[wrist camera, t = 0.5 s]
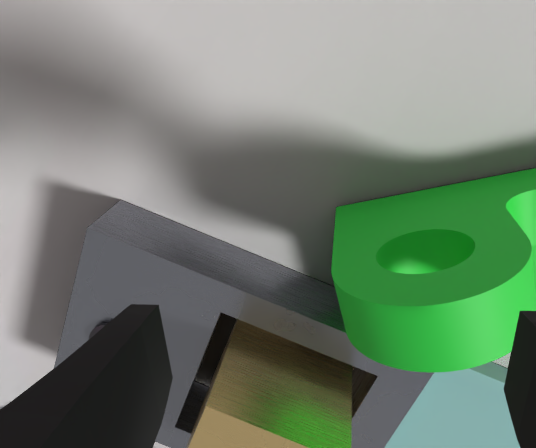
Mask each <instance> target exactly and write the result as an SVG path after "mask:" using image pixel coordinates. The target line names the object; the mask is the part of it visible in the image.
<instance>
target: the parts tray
mask: <svg viewBox="0 0 536 448" xmlns="http://www.w3.org/2000/svg"><path fill="white" fill-rule="evenodd" d="M507 370H508V369H507V368H505V367H502V366H500V365H497V364H495V363H492V362H489V363H486V364H483V365H480V366H477V367H473V368H469V369H464V370H458V371H452V372H434V374H433V375H432V377H431V378H430V380H429V381H428V383H427V384H426V386H425V387H424V389H423V390H422V392H421V393H420V395H419V396H418V398H417V399H416V401H415V402H414V404H413V405H412V407H411V408H410V410H409V411H408V413H407V414H406V416H405V417H404V419H403V420H402V422H401V423H400V425H399V426H398V428H397V429H396V431H395V432H394V434H393V435H392V437H391V438H390V440H389V441H388V443H387V444H386V446H385V447H384V448H520V445H519V443H518V440H517V437H516V434H515V430H514V427H513V423H512V420H511V416H510V412H509V409H508V405H507V401H506V397H505V393H504V385H505V380H506V375H507Z"/></svg>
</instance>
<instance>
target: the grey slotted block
mask: <svg viewBox="0 0 536 448" xmlns="http://www.w3.org/2000/svg"><path fill="white" fill-rule="evenodd" d="M131 304H147V305H159V309H160V314H161V319H162V324H163V330H164V335H165V340H166V345H167V350H168V355H169V361H170V366H171V371H172V376H173V379H172V384H171V388H170V392H169V397H168V401H167V405H166V409H165V413H164V416H163V420H162V424H161V426H160V429H159V432H158V435H157V437H156V440H155V441H156V442H158V443H160V444H163V445H165V446H168V447H170V448H186V446H187V443H188V441H189V438H190V435H191V433H192V430H193V428H194V425H195V422H196V420H197V417H198V414H199V412H200V409H201V407H202V404H203V401H204V399H205V396H206V393H207V391H208V388H209V387H207V386H205V385H202V384H200V383H197V382H195V378H196V376H197V373H198V371H199V368H200V366H201V363H202V361H203V358H204V356H205V353H206V351H207V348H208V346H209V343H210V341H211V338H212V336H213V333H214V331H215V328H216V326H217V323H218V321H219V318H220V316H221V313H224V314H226V315H229V316H231V317H234V318H236V319H239V320H241V321H244V322H246V323H249V324H251V325H253V326H256V327H258V328H261V329H263V330H266V331H268V332H271V333H273V334H276V335H278V336H281V337H283V338H285V339H288V340H290V341H293V342H295V343H298V344H300V345H303V346H305V347H308V348H310V349H312V350H315V351H317V352H320V353H322V354H325V355H327V356H330V357H332V358H335V359H337V360H339V361H342V362H344V363H347V364H349V365H352V366H354V369H353V371H352V430H351V448H384V447H385V446H386V444H387V443H388V441H389V440H390V438H391V437H392V435H393V434H394V432H395V431H396V429H397V428H398V426H399V425H400V423H401V422H402V420H403V419H404V417H405V416H406V414H407V413H408V411H409V410H410V408H411V407H412V405H413V404H414V402H415V401H416V399H417V398H418V396H419V395H420V393H421V392H422V390H423V389H424V387H425V386H426V384H427V383H428V381H429V380H430V378H431V377H432V375H433V374H434V372H414V371H407V370H401V369H397V368H393V367H389V366H386V365H383V364H381V363H378V362H376V361H374V360H372V359H370V358H368V357H366V356H365V355H363V354H362V353H361V352H359V351H358V350H357V349H356V348H355V347H354V346H353V345H352V343H351V342H350V340H349V338H348V336H347V334H346V330H345V326H344V322H343V318H342V314H341V310H340V306H339V302H338V298H337V294H336V290H335V287H333V286H331V285H328V284H326V283H324V282H321V281H319V280H316V279H314V278H311V277H309V276H306V275H304V274H301V273H299V272H297V271H294V270H292V269H289V268H287V267H284V266H282V265H279V264H277V263H275V262H272V261H270V260H267V259H265V258H262V257H260V256H257V255H255V254H252V253H250V252H248V251H245V250H243V249H240V248H238V247H235V246H233V245H230V244H228V243H225V242H223V241H221V240H218V239H216V238H213V237H211V236H208V235H206V234H203V233H201V232H199V231H196V230H194V229H191V228H189V227H186V226H184V225H181V224H179V223H176V222H174V221H172V220H169V219H167V218H164V217H162V216H159V215H157V214H154V213H152V212H149V211H147V210H145V209H142V208H140V207H137V206H135V205H132V204H130V203H127V202H125V201H123V200H120V201H119V202H118V203H116V204H115V205H114V206H113V207H112V208H110V209H109V210H108V211H107V212H106V213H104V214H103V215H102V216H101V217H100V218H98V219H97V220H96V221H95V222H94V223H92V224H91V225H90V226H89V227H88V228H87V231H86V235H85V240H84V244H83V248H82V252H81V256H80V261H79V265H78V269H77V273H76V277H75V282H74V286H73V290H72V294H71V299H70V303H69V307H68V311H67V315H66V320H65V324H64V328H63V332H62V337H61V341H60V345H59V349H58V353H57V358H56V362H55V366H54V368H56V367H57V366H58V365H59V364H60V363H62V362H63V361H64V360H65V359H66V358H68V357H69V356H70V355H71V354H72V353H74V352H75V351H76V350H77V349H78V348H80V347H81V346H82V345H83V344H84V343H86V342H87V341H88V340H89V339H90V338H91V337H93V336H94V335H95V334H96V333H97V332H98V331H100V330H101V329H102V328H103V327H104V326H105V325H106V324H108V323H109V322H110V321H111V320H112V319H113V318H115V317H116V316H117V315H118V314H119V313H121V312H122V311H123V310H124V309H126V308H127V307H128V306H129V305H131Z"/></svg>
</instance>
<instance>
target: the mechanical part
mask: <svg viewBox="0 0 536 448" xmlns="http://www.w3.org/2000/svg"><path fill="white" fill-rule="evenodd" d="M331 274H332V278H333V282H334V286H335V290H336V294H337V298H338V302H339V306H340V310H341V314H342V318H343V322H344V326H345V330H346V334H347V336H348V338H349V340H350V342H351V343H352V345H353V346H354V347H355V348H356V349H357V350H358V351H359V352H361V353H362V354H363V355H365V356H366V357H368V358H370V359H372V360H374V361H376V362H378V363H381V364H383V365H386V366H389V367H393V368H397V369H401V370H407V371H414V372H452V371H458V370H464V369H469V368H473V367H477V366H480V365H483V364H486V363H489V362H491V361H494V360H496V359H498V358H501V357H503V356H505V355H506V354H508V353H510V352H511V351H512V346H513V341H514V336H515V332H516V327H517V322H518V317H519V312H520V311H536V168H533V169H528V170H523V171H518V172H513V173H508V174H503V175H498V176H492V177H487V178H482V179H477V180H472V181H467V182H462V183H457V184H452V185H446V186H441V187H436V188H431V189H426V190H421V191H416V192H411V193H405V194H400V195H395V196H390V197H385V198H380V199H375V200H370V201H365V202H359V203H354V204H349V205H344V206H339V207H336V215H335V228H334V240H333V253H332V265H331Z"/></svg>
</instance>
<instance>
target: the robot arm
mask: <svg viewBox="0 0 536 448" xmlns="http://www.w3.org/2000/svg"><path fill="white" fill-rule="evenodd" d="M172 379H173V376H172V371H171V366H170V361H169V355H168V350H167V345H166V340H165V335H164V330H163V324H162V319H161V314H160V309H159V305H147V304H131V305H129V306H128V307H127V308H126V309H124V310H123V311H122V312H121V313H119V314H118V315H117V316H116V317H115V318H113V319H112V320H111V321H110V322H109V323H108V324H106V325H105V326H104V327H103V328H102V329H101V330H100V331H98V332H97V333H96V334H95V335H94V336H93V337H91V338H90V339H89V340H88V341H87V342H86V343H84V344H83V345H82V346H81V347H80V348H78V349H77V350H76V351H75V352H74V353H72V354H71V355H70V356H69V357H68V358H66V359H65V360H64V361H63V362H62V363H60V364H59V365H58V366H57V367H56V368H54V369H53V370H52V371H51V372H49V373H48V374H47V375H45V376H44V377H43V378H41V379H40V380H39V381H38V382H36V383H35V384H34V385H32V386H31V387H30V388H28V389H27V390H26V391H25V392H23V393H22V394H21V395H19V396H18V397H17V398H15V399H14V400H13V401H12V402H10V403H9V404H7V405H6V406H5V407H3V408H2V409H1V410H0V448H153V445H154V443H155V440H156V437H157V435H158V432H159V429H160V426H161V424H162V420H163V416H164V413H165V409H166V405H167V401H168V397H169V392H170V388H171V384H172ZM504 393H505V397H506V401H507V405H508V409H509V412H510V416H511V420H512V423H513V427H514V430H515V434H516V437H517V440H518V443H519V445H520V448H536V311H520V312H519V317H518V322H517V327H516V332H515V336H514V341H513V346H512V351H511V356H510V361H509V365H508V370H507V375H506V380H505V385H504Z"/></svg>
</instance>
